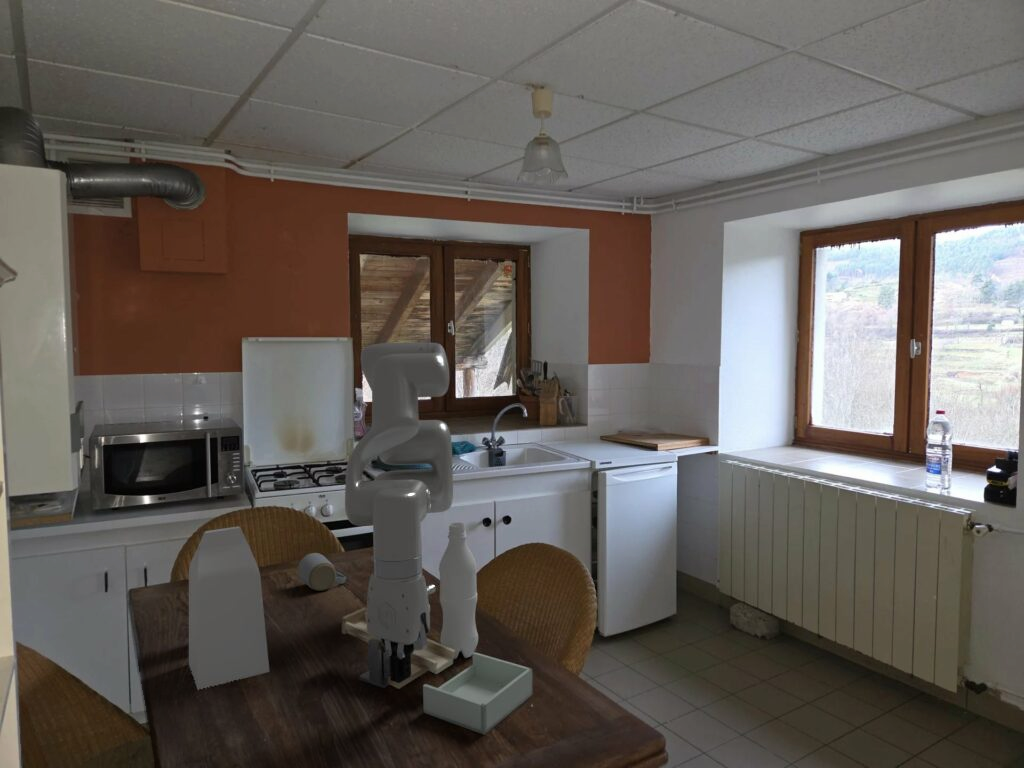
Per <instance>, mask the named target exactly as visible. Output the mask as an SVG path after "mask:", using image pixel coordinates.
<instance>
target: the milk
mask: <svg viewBox="0 0 1024 768" xmlns="http://www.w3.org/2000/svg"><path fill="white" fill-rule="evenodd" d="M243 532H244V531H242V529H241V527H240V526H239V525H238V526H233V527H225V528H219V529H211V530H206V531H204V533H203V535H202V537H201V539H200V542H199V544H198V547H197V549H196V550H195V553H194V555H193V557H192V559H191V561H190V564H189V568H188V569H189V570H188V667H189V669H190V672H191V671H192V672H191V675H192V676H193V677H194V678H193V680H195V681H194V683H195V686H196V689H197V691H200V690H199V689H201V690H204V689H203V688H205V689H208V688H211V687H210V686H212V687H215V685H216V686H220V685H224V684H228V683H231V681H232V682H235V681H234V680H236V681H240V680H242V679H247V678H250V677H255V676H259V675H263V674H266V673H269V672H270V664H269V654H268V642H267V633H266V624H265V623H266V622H265V613H264V611H265V610H264V603H263V592H262V581H261V573H260V569H259V566H258V564H257V560H256V559H255V557H254V555H253V551H252V550H251V547H250V545H249V543H248V542H247V541H248V540H247V539H246V536H245V534H244V533H243ZM239 679H240V680H239ZM227 682H228V683H227ZM219 684H220V685H219ZM207 687H208V688H207Z"/></svg>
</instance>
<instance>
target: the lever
mask: <svg viewBox="0 0 1024 768" xmlns="http://www.w3.org/2000/svg"><path fill="white" fill-rule="evenodd" d="M341 634H343V635H346V634H348V635H350V636H352V637H355V638H357V639H358V640H361V641H363V642H365V643H368V641H369V640H371V639H372V640H375V641H379V642H381V649H383V650H385V651H386V647H385V645H384V644H383V642H382V641H381V640H379V639H377V638H376V637H374V636H373V635H371V634H370V633H369V632H368V630H367V607H362V608H360V609H357V610H355V611H353V612H351V613H349V614H347V615H345V616H342V618H341ZM426 638H427V637H426ZM427 643H428V646H427V647H426V648H424V649H422V650H414V652H413V653H412V654H411V663H412V664H411V676H410V677H409V678H407V679H405V680H404V681H402V682H400V683H397V682H395V681H394V682H393V681H391V680H390V677H388V684H390V685H389V686H392V687H394V688H395V689H398V690H400V689H401V688H403V687H404V686H407V684H409V683H411V682H412V681H414V680H415V679H417V678H419V677H420V676H422V675H424V674H425V673H427V672H428V671H429V672H431V673H433V674H435V675H438V674H439V673H440V672H443V671H444V670H446V669H447V668H448V667H450V666H452V665H453V664H454V659H453V658H455V655H456V650H454V649H451V648H449V647H447V646H444V645H442V644H441V642H440V643H439V642H437V641H435V640H432V639H430V638H427Z"/></svg>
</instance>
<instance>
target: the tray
mask: <svg viewBox="0 0 1024 768" xmlns="http://www.w3.org/2000/svg"><path fill="white" fill-rule="evenodd" d="M533 695H534V692H533V668H532V667H528V666H523V665H522V664H516V663H514V662H510V661H507V660H503V659H499V658H496V657H492V656H490V655H486V654H482V653H479V652H475V651H474V653H473V654H472V664H471V665H470V666H468V667H467V668H465V669H464V670H462V671H461V672H459V673H458V674H456V675H455V676H453V677H452V678H451V679H449V680H447V681H446V682H444V683H443V684H442V685H440V686H439V687H435V686H434V685H429V684H427V683H425V684H423V685H422V700H423V702H422V703H423V714H427V715H429V716H432V717H434V718H438V719H440V720H443V721H446V722H448V723H451V724H454V725H456V726H459V727H462V728H464V729H467V730H470V731H473V732H475V733H478V734H480V735H481V734H482V735H484V736H485V735H486V734H487V733H489V732H490V731H491V730H492V729H494V728H495V727H496V726H497V725H498V724H499V723H501V722H502V721H504V719H505V718H507V717H508V716H509V715H510V714H512V713H513V712H514V711H515V710H516V709H518V708H519V707H520V706H521V705H522V704H523V703H524V702H525V701H527V700H528V699H529V698H530V697H532V696H533Z"/></svg>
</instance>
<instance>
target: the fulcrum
mask: <svg viewBox="0 0 1024 768" xmlns="http://www.w3.org/2000/svg"><path fill="white" fill-rule="evenodd" d="M367 645H368V670H367V671H366V672H364V673H362V674H360V675H359V676H358V678H359V679H358V680H360V681H363V682H366V683H368V684H370V685H373V686H377V687H378V688H379V687H380V688H382V689H385V688H387V687H388V686H391V685H390V684H388V677H390V656H388V655H387V653H386V651H385V650H383V649H381V642H379V641H375V640H372V639H371V640H369V641H368V642H367ZM411 664H412V663H411Z"/></svg>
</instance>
